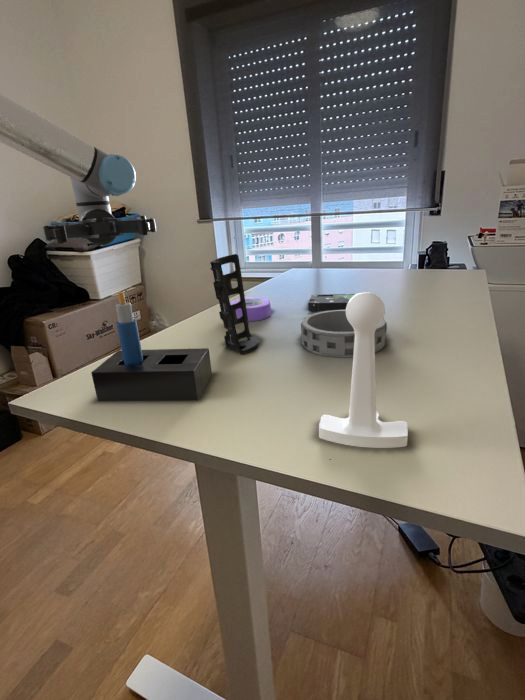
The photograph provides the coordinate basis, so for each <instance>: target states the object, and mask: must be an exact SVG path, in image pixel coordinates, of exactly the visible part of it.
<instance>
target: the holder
mask: <svg viewBox="0 0 525 700" xmlns="http://www.w3.org/2000/svg"><path fill="white" fill-rule="evenodd" d="M230 263H232V264H234V265H233V266H234V271H232V272H230V273H225V274H224V271H223V268H222V266H223V265H226V264H230ZM209 264H210V266H211V267H210V268H209V269H210V271H212V274H213V288H214V293H215V297H216V299H217V300H218V304H219V308H220V311H219V312H218V313H219V317H220V320H221V321H222V322H223V323H222V324H223V327H224V329H225V332H224V333H225V335H224V336H223V337H224V344H225V347H226V349H229V350H231V351H235V352H237V353H239V355H245V354H247V353H249V352H250V351H252V350H254V349H256V348H257V347H258V346H259V344H260V343H261V341H260V339H259V337H257V336H254V335H252V334H251V332H250V325H249V321H248V316H247V309H246V302H245V298H246V296H245V289H244V282H243V277H242V276H243V275H242V270H241V264H240V258H239V254H237V253H234V254H228V255H226V256H221V257H218V258H216V259H214V260H211V261H210V262H209ZM233 279H236V282H237V286H236V287H234V288H233V286H232V280H233ZM238 294H239V299H240V302H238V303H236V304H232V305H230V302H231V301H230V296H233V295H238ZM239 308H241V309H242V315H243V316H242V317H240V318H237V315H236V310H237V309H239ZM239 324H243V329H244V330H242V331H240V332H238V331H237V327H236V326H237V325H239ZM244 338H246V340H241V339H244ZM247 339H248V340H247Z"/></svg>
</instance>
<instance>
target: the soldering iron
mask: <svg viewBox="0 0 525 700" xmlns="http://www.w3.org/2000/svg"><path fill="white" fill-rule="evenodd" d="M117 298H118V302H119V303H116V304H115V306H114V307H115V310H116V315H117V321H116V328H117V333H118V338H119V343H120V350H122V354H123V359H124V364H125V365H140V364H141V363H142V362H143V355H142V350H143V349H142V344H141V340H140V339H141V338H140V333H139V328H138V323H137V320H136V319H135V318H134V315H133V310H132V309H133V308H132V304H131V302H127V301H126V296H125V292H124V291H118V292H117Z"/></svg>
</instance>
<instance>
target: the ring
mask: <svg viewBox="0 0 525 700" xmlns="http://www.w3.org/2000/svg"><path fill="white" fill-rule="evenodd" d="M386 320H387V319H385V317H384V318H383V320H382V322H381V323H380V324H379V325H378V326H377V328H376V330H375V333H374V343H375V353H377V352H380V351H382V350H383V348H384V347H385V345H386V343H387V329H388V322H387V321H386ZM300 334H301V344H302V347H303V348H304V349H305V350H307V351H308V352H310V353H312V354H316V355H318V356H324V357H328V358H329V357H330V358H353V354H354V340H355V332H354V329H353V327H352V325H351V324H350V323H349V321H348V320H347V317H346V310H330V311H317V312H315V313H311V314H309V315H307V316H305V317H304V318H303V319H302V320H301V323H300Z"/></svg>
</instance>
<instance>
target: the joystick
mask: <svg viewBox="0 0 525 700" xmlns="http://www.w3.org/2000/svg"><path fill="white" fill-rule="evenodd" d="M355 294H356V295H354V296H353V297H352V298H351V299H350V300H349V302H348V304H347V306H346V317H347V320H348V321H349V323H350V324H351V325H352V327H353V329H354V332H355V340H354V354H353V357H352V367H351V369H352V371H351V381H350V383H351V384H350V394H349V396H350V397H349V412H348V416H347V417H344V418H343V417H337V416H334V415H330V414H323V415H321V418H320V420H319V424H318V437H319V439H321V440H324V441H328V442H332V443H336V444H341V445H347V446H352V447H361V448H372V449H373V448H375V449H393V448H404V447H407V446H408V437H409V433H408V432H409V431H408V423H407V422H406V421H404V420H393V421H382V420H380V414H379V412H378V411H377V387H376V352H375V343H374V333H375V330H376V328H377V326H378V325H379V324H380V323H381V322H382V320H383V318H384V319H385V314H386V307H385V304H384V302H383V300H382V299H381V297H380V296H378V295H377V294H376V293H373V292H369V291H363V292H359V293H355Z"/></svg>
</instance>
